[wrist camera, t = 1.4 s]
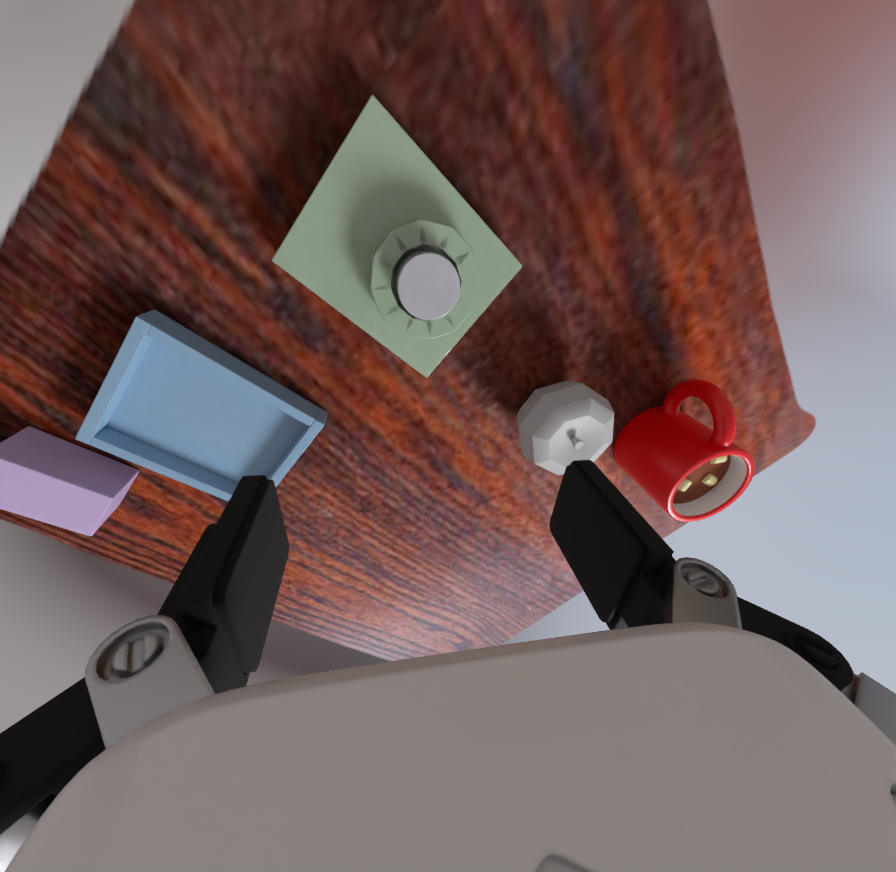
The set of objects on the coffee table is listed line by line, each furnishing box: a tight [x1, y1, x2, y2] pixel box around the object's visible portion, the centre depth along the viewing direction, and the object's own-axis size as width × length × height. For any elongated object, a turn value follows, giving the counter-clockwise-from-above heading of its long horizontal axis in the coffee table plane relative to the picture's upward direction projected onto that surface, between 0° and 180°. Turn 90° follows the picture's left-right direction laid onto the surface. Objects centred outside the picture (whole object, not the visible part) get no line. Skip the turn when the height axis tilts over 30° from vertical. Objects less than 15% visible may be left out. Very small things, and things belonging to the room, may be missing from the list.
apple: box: [517, 380, 614, 475], centre depth 29 cm, size 8×8×7 cm
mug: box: [614, 379, 755, 522], centre depth 32 cm, size 8×12×8 cm, turn 5°
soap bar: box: [0, 426, 139, 536], centre depth 26 cm, size 7×4×4 cm, turn 48°
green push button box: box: [272, 95, 522, 378], centre depth 22 cm, size 12×10×4 cm
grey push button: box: [396, 250, 460, 320], centre depth 21 cm, size 4×4×2 cm
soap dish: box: [75, 310, 328, 501], centre depth 26 cm, size 13×11×2 cm
